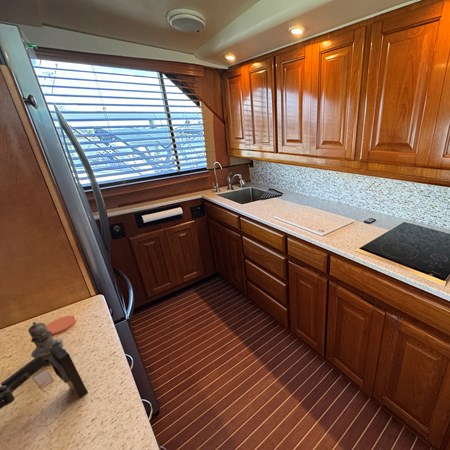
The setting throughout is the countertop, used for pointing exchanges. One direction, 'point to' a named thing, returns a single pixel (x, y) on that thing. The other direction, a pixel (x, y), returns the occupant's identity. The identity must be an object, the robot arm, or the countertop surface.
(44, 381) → the flush button
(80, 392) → the flush panel
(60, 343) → the grey buddha statue
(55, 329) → the coaster
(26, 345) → the countertop surface
